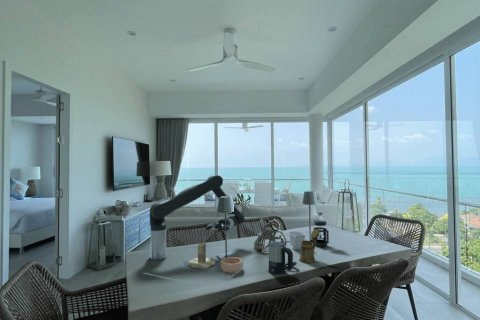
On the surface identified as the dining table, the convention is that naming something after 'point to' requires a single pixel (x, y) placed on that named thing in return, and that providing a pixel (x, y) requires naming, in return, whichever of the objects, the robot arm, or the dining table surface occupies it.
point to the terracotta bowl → (231, 264)
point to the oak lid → (201, 259)
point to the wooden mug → (309, 248)
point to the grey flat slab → (200, 269)
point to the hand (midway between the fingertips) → (212, 229)
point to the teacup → (296, 239)
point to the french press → (318, 240)
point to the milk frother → (279, 258)
